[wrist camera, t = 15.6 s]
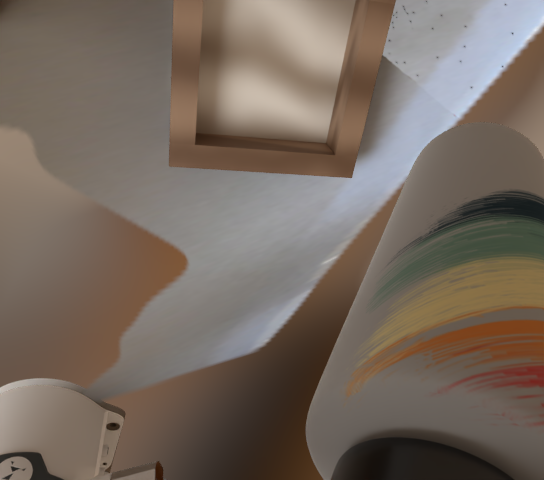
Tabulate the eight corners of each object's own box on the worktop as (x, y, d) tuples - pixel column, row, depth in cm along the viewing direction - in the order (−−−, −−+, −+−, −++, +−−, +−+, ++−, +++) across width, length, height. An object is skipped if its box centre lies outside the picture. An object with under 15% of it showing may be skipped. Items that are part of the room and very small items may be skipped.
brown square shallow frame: (340, 162, 44) (351, 177, 41) (169, 150, 40) (168, 166, 38) (383, -29, 36) (402, -27, 33) (175, -65, 32) (175, -66, 29)
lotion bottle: (455, 253, 23) (348, 879, 8) (387, 165, 22) (110, 673, 7) (576, 197, 19) (827, 1153, 4) (500, 90, 19) (459, 796, 3)
